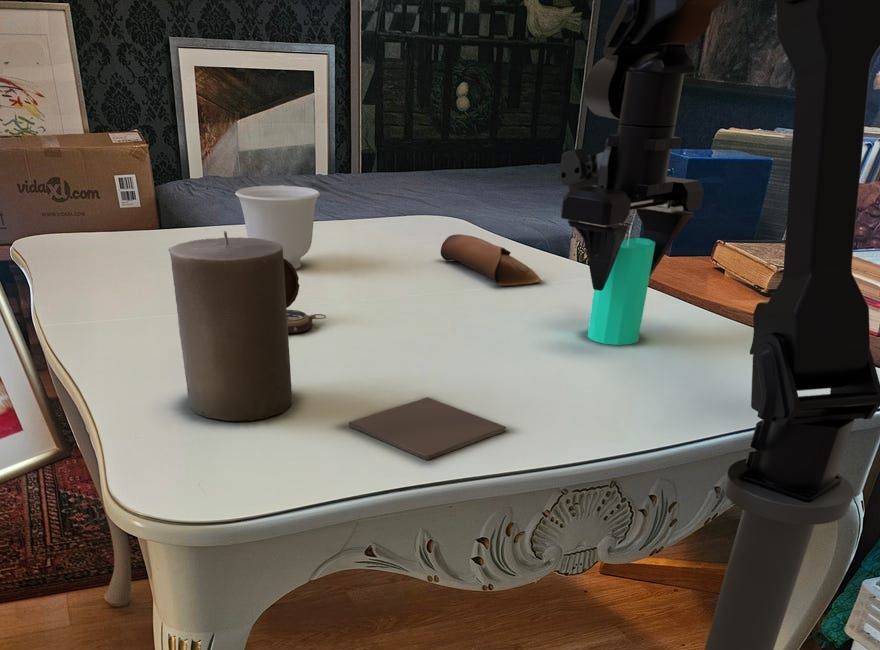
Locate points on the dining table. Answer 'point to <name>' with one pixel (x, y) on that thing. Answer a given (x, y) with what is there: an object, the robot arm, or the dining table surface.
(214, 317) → the pillar candle
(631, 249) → the candle
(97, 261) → the dining table surface
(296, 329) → the compass
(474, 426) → the mat
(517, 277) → the sunglasses case
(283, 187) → the teacup
